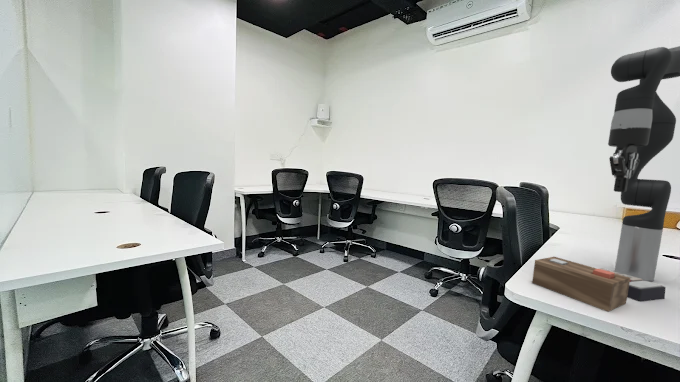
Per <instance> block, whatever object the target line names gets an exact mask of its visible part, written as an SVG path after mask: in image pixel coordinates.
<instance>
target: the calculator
mask: <svg viewBox="0 0 680 382" xmlns="http://www.w3.org/2000/svg"><path fill="white" fill-rule="evenodd" d="M599 269H602V270H606V271H609V272H613V273H615V274H618V275H622V276H626V277H629V278H630V283H629V289H628V295H627V299H628V298H629V299H631V300H634V301H637V302H648V301H649V302H650V301H658V300H665V297H666V286H664V285H663V284H659V283H655V282H653V281H646V280H643V279H640V278H636V277H633V276H629V275H625V274H620V273H618V272H615V270H609V269H607V268H599Z"/></svg>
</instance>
